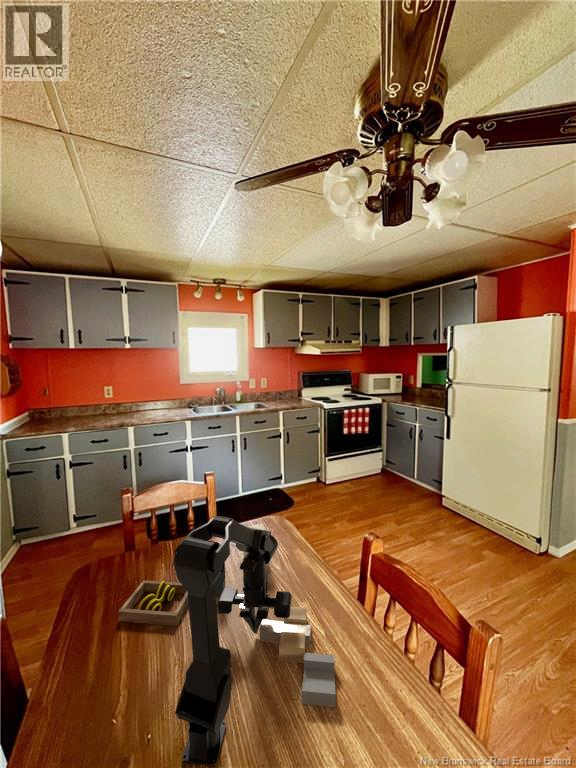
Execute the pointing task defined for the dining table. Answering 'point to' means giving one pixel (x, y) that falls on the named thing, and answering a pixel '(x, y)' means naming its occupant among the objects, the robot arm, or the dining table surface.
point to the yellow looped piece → (157, 598)
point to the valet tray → (153, 616)
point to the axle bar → (273, 630)
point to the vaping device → (220, 582)
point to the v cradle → (318, 680)
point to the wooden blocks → (293, 637)
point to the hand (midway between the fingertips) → (255, 632)
